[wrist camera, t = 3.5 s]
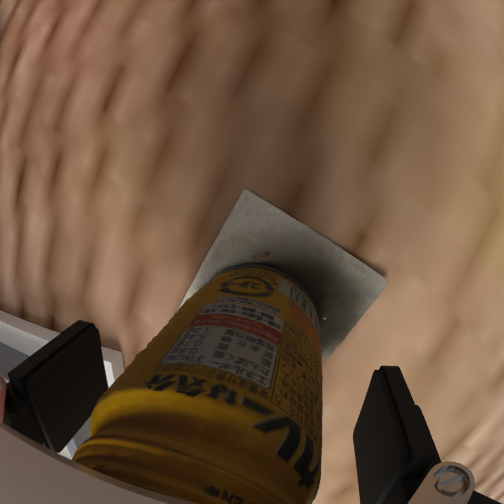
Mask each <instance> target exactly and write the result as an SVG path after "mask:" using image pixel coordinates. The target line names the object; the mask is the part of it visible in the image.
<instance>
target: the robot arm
mask: <svg viewBox="0 0 504 504" xmlns="http://www.w3.org/2000/svg"><path fill="white" fill-rule="evenodd" d="M7 375H8V377H9V380H10V381H9V382H8V383H6V381H5V379H4V378H3V377H1V376H0V504H197V503H193V502H189V501H185V500H181V499H177V498H173V497H170V496H166V495H163V494H159V493H156V492H153V491H150V490H146V489H143V488H140V487H137V486H134V485H132V484H129V483H126V482H123V481H120V480H118V479H115V478H112V477H110V476H107V475H105V474H102V473H100V472H98V471H95V470H93V469H90V468H88V467H86V466H83V465H81V464H79V463H77V462H75V461H72V460H70V459H68V458H66V457H64V456H62V455H60V454H58V453H60V452H61V451H62V450H63V449H64V448H65V447H66V445H67V444H68V443H69V442H70V440H71V439H72V438H73V437H74V436H75V434H76V433H77V432H78V431H79V429H80V428H81V427H82V426H83V425H84V423H85V422H86V421H87V420H88V419H89V417H90V416H91V415H92V412H93V410H94V408H95V406H96V404H97V402H98V400H99V398H100V397H101V396H102V395H103V394H104V393H105V392H106V391H107V390H108V388H109V387H108V382H107V377H106V372H105V366H104V361H103V355H102V349H101V342H100V335H99V331H98V329H97V328H96V327H95V325H94V324H93V323H89V322H85V321H82V320H79V321H77V322H75V323H74V324H73V325H71V326H70V327H69V328H67V329H66V330H64V331H63V332H62V333H60V334H59V335H58V336H56V337H55V338H54V339H52V340H51V341H50V342H48V343H47V344H45V345H44V346H43V347H41V348H40V349H39V350H37V351H36V352H35V353H33V354H32V355H31V356H30V357H28V358H27V359H26V360H24V361H23V362H22V363H20V364H19V365H18V366H16V367H15V368H14V369H13V370H11V371H10V372H9V373H7ZM353 442H354V450H355V458H356V467H357V475H358V485H359V495H360V504H502V503H499V502H497V501H495V500H493V499H491V498H489V497H486V496H484V495H482V494H480V493H478V492H476V491H474V486H475V480H474V476H473V474H472V472H471V471H470V470H469V469H468V468H467V467H465V466H464V465H462V464H460V463H456V462H448V461H447V462H442V463H441V460H440V457H439V455H438V452H437V449H436V447H435V444H434V441H433V439H432V436H431V434H430V431H429V428H428V426H427V423H426V421H425V418H424V416H423V414H422V411H421V409H420V407H419V406H417V405H415V403H414V401H413V399H412V396H411V394H410V391H409V389H408V387H407V384H406V382H405V379H404V377H403V375H402V372H401V370H400V368H399V367H398V366H381V367H380V369H379V370H375V371H374V372H373V375H372V378H371V382H370V385H369V388H368V391H367V394H366V397H365V400H364V403H363V406H362V409H361V412H360V415H359V417H358V420H357V423H356V426H355V428H354V433H353Z"/></svg>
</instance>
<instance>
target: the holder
mask: <svg viewBox="0 0 504 504" xmlns="http://www.w3.org/2000/svg"><path fill="white" fill-rule="evenodd" d="M59 334H60V333H59V332H56V331H53V330H50V329H47V328H45V327H42V326H39V325H36V324H34V323H31V322H29V321H26V320H23V319H21V318H18V317H16V316H13V315H11V314H8V313H6V312H4V311H1V310H0V376H1V377H3V378H4V379H5V381H6V383H8V382H9V381H10V380H9V377H8V375H7V373H9V372H10V371H11V370H13V369H14V368H15V367H16V366H18V365H19V364H20V363H22V362H23V361H24V360H26V359H27V358H28V357H30V356H31V355H32V354H33V353H35V352H36V351H37V350H39V349H40V348H41V347H43V346H44V345H45V344H47V343H48V342H50V341H51V340H52V339H54V338H55V337H56V336H58V335H59ZM101 349H102V355H103V361H104V366H105V372H106V377H107V382H108V387H110V386H111V385H112V384H113V383H114V381H115V380H116V379H117V378H118V377H119V376H120V375H121V374H122V373H124V366H123V360H122V353H121V352H120V351H116V350H113V349H109V348H106V347H102V346H101ZM90 419H91V416H90V417H89V419H88V420H87V421H86V422H85V423H84V425H83V426H82V427H81V428H80V429H79V431H78V432H77V433H76V434H75V436H74V437H73V438H72V439H71V440H70V442H69V443H68V444H67V445H66V447H65V448H64V449H63V450H62V451H61V452H60V453H58V454H60V455H62V456H64V457H66V458H68V459H70V460H72V458H73V457H74V454H75V452H76V450H77V448H78V447H79V446H80V445H81V444H82V443H83V442H84V441H85V440H87V439H88V438H90Z"/></svg>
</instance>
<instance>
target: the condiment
mask: <svg viewBox="0 0 504 504" xmlns="http://www.w3.org/2000/svg"><path fill="white" fill-rule="evenodd" d="M265 252H269V253H270V256H267V257H261V254H263V253H265ZM258 255H259V256H260V259H259V260H254V259H251V258H252V257H253V256H258ZM387 283H388V280H387V279H386V278H384V277H383V276H381V275H380V274H378V273H377V272H375V271H374V270H373V269H371V268H370V267H368V266H367V265H365V264H364V263H362V262H361V261H359V260H358V259H356V258H355V257H353V256H352V255H350V254H349V253H347V252H346V251H344V250H343V249H342V248H340V247H338V246H337V245H335V244H334V243H332V242H331V241H329V240H328V239H326V238H324V237H323V236H321V235H320V234H318V233H317V232H315V231H313V230H312V229H310V228H308V227H307V226H306V225H304V224H302V223H301V222H299V221H297V220H296V219H294V218H292V217H291V216H289V215H288V214H286V213H284V212H283V211H281V210H280V209H278V208H277V207H275V206H273V205H272V204H270V203H268V202H266V201H265V200H263V199H261V198H260V197H258V196H256V195H255V194H253V193H251V192H250V191H248V190H246V189H244V190H243V192H242V194H241V196H240V197H239V199H238V201H237V202H236V204H235V206H234V208H233V209H232V211H231V213H230V215H229V217H228V218H227V220H226V222H225V223H224V225H223V227H222V229H221V230H220V232H219V234H218V236H217V238H216V240H215V242H214V243H213V245H212V247H211V248H210V250H209V252H208V254H207V256H206V258H205V259H204V261H203V263H202V265H201V267H200V269H199V271H198V273H197V275H196V276H195V278H194V280H193V282H192V284H191V286H190V288H189V289H188V291H187V293H186V295H185V297H184V299H183V301H182V302H181V304H180V306H179V308H178V310H177V312H176V314H175V315H174V316H173V317H172V318H171V319H170V320H169V323H168V324H167V325H166V326H164V328H163V329H162V330H161V331H160V332H159V334H158V335H157V336H156V337H154V338H153V339H152V341H151V342H149V343H148V345H147V348H145V349H144V350H143V351H141V352H140V353H138V354H137V355H136V357H135V359H134V360H133V362H132V363H131V364H130V365H129V366H128V367H127V368H126V370H125V372H124V373H122V374H121V375H120V376H119V377H118V378H117V379H116V380H115V381H114V383H113V384H112V385H111V386H110V387H109V388H108V390H107V391H106V392H105V393H104V394H103V395H102V396H101V397H100V398H99V400H98V402H97V404H96V406H95V408H94V410H93V412H92V415H91V419H90V438H88V439H87V440H85V441H84V442H83V443H82V444H81V445H80V446H79V447H78V448H77V450H76V452H75V454H74V457H73V458H72V461H75V462H77V463H79V464H81V465H83V466H86V467H88V468H90V469H93V470H95V471H98V472H100V473H102V474H105V475H107V476H110V477H112V478H115V479H118V480H120V481H123V482H126V483H129V484H132V485H134V486H137V487H140V488H143V489H146V490H150V491H153V492H156V493H159V494H163V495H166V496H170V497H173V498H177V499H181V500H185V501H189V502H193V503H197V504H312V502H313V500H314V499H315V497H316V495H317V492H318V489H319V484H320V479H321V455H322V408H323V407H322V405H323V402H322V379H323V376H322V364H323V362H324V361H325V360H326V359H327V357H328V356H329V355H330V354H331V353H332V352H333V351H334V350H335V348H336V347H337V346H338V345H339V344H340V343H341V342H342V341H343V340H344V339H345V337H346V336H347V334H348V333H349V332H350V330H351V329H352V328H353V327H354V326H355V325H356V323H357V322H358V320H359V319H360V318H361V317H362V315H363V314H364V313H365V311H366V310H367V309H368V308H369V307H370V306H371V304H372V303H373V302H374V301H375V300H376V298H377V297H378V295H379V294H380V292H381V291H382V290H383V288H384V287H385V286H386V284H387ZM324 317H327V318H326V320H323V318H324Z"/></svg>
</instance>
